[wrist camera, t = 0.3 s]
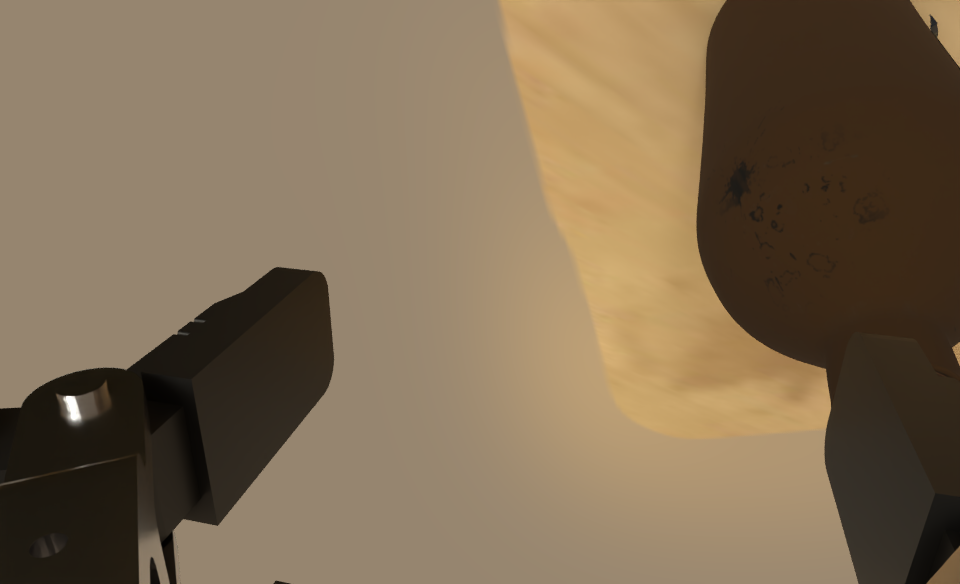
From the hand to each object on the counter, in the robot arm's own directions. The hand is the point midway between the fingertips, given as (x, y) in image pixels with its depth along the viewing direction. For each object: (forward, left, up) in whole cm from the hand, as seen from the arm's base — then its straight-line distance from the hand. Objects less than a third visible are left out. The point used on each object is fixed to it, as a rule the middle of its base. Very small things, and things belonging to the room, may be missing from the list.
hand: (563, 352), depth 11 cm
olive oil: (+12, 0, -31) cm, 33 cm away
